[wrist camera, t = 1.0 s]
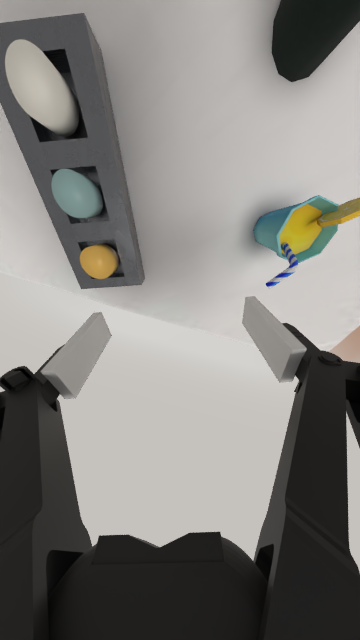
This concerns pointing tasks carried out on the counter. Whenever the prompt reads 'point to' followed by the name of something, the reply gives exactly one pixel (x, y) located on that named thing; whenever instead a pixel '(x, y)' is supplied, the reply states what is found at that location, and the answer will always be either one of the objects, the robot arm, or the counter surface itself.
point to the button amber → (99, 261)
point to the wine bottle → (310, 33)
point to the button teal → (76, 194)
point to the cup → (302, 230)
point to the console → (76, 145)
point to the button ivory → (41, 88)
